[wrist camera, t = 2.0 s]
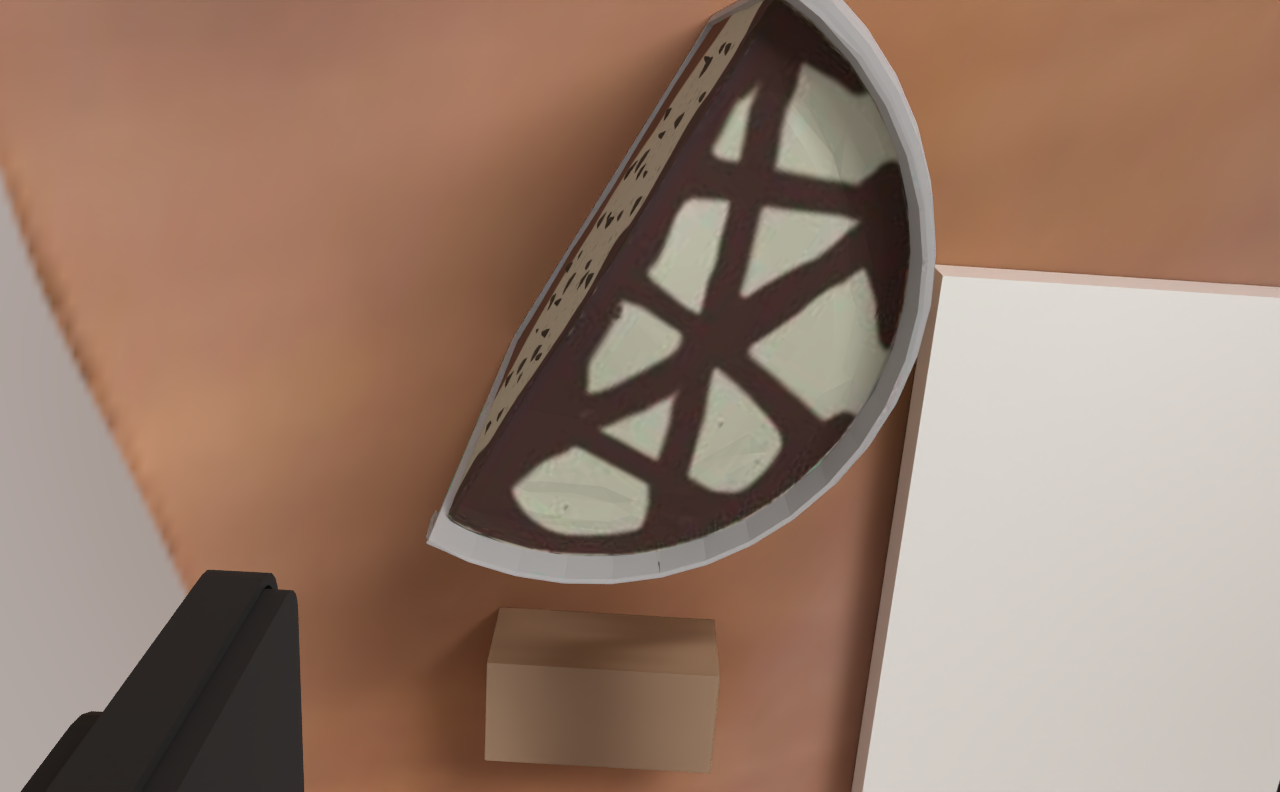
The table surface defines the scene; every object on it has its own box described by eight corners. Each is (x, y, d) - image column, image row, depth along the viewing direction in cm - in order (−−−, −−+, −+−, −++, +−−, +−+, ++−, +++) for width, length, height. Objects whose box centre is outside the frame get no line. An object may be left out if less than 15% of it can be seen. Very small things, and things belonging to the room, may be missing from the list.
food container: (682, 499, 32) (697, 721, 22) (483, 384, 31) (411, 566, 21) (961, 102, 28) (1119, 166, 19) (748, -44, 27) (802, -54, 18)
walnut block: (713, 616, 33) (720, 676, 30) (705, 707, 34) (709, 773, 31) (500, 603, 33) (486, 662, 30) (498, 695, 34) (484, 760, 31)
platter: (1599, 308, 30) (1637, 321, 29) (1417, 825, 35) (1443, 853, 34) (931, 264, 30) (942, 275, 28) (851, 792, 35) (857, 820, 34)
